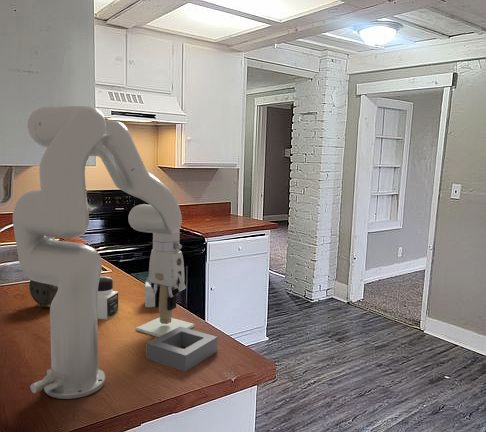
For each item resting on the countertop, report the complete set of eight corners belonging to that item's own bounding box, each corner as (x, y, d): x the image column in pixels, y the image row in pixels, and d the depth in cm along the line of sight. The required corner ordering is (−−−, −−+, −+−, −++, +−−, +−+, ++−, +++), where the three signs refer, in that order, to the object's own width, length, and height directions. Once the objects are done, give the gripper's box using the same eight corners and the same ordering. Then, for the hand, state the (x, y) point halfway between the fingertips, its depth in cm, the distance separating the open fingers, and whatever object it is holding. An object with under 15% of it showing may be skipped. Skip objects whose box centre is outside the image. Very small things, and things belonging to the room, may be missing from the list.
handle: (152, 321, 132) (152, 272, 130) (172, 318, 135) (173, 269, 133) (157, 327, 128) (158, 276, 126) (178, 323, 131) (179, 273, 129)
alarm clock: (64, 308, 146) (63, 259, 143) (51, 313, 141) (49, 263, 139) (40, 302, 150) (38, 255, 148) (26, 307, 145) (24, 258, 143)
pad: (168, 339, 123) (168, 337, 123) (135, 330, 129) (135, 327, 129) (194, 326, 134) (194, 323, 134) (163, 318, 140) (163, 315, 140)
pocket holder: (185, 371, 106) (185, 355, 105) (146, 358, 112) (146, 343, 111) (217, 351, 117) (217, 336, 117) (179, 340, 123) (180, 326, 123)
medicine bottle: (107, 320, 136) (107, 282, 135) (86, 317, 138) (85, 280, 136) (118, 312, 143) (118, 276, 142) (98, 310, 145) (97, 274, 143)
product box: (163, 307, 150) (163, 286, 149) (144, 308, 148) (144, 286, 147) (162, 301, 156) (163, 280, 155) (145, 302, 154) (145, 281, 153)
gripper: (197, 247, 127) (196, 309, 130) (153, 240, 136) (152, 298, 138) (180, 252, 121) (180, 317, 123) (135, 244, 129) (135, 305, 132)
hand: (165, 306), depth 131 cm, fingers closed on handle, 4 cm apart
